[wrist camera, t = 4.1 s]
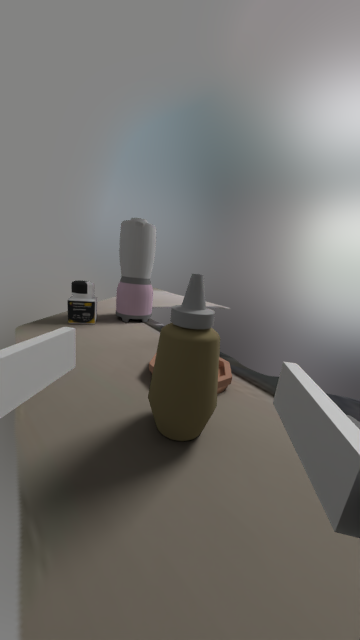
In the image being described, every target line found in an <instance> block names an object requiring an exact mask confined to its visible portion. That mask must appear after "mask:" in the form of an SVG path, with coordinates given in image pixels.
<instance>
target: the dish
mask: <svg viewBox="0 0 360 640" xmlns="http://www.w3.org/2000/svg"><path fill="white" fill-rule="evenodd" d="M156 354H157V353H156ZM156 354H155V356H154V357H153V358H152V360H151V361H150V363H149V370H150V371H151V374H153V369H154V364H155V359H156ZM231 380H232V374H231V369H230V364H229V362H227V361H226V360H224V359H222V358H220V357H219V369H218V387H217V394H219V393H221V392H222V391H224V390H225V389H226V388H227V386H228V385H229V384H231Z"/></svg>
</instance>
